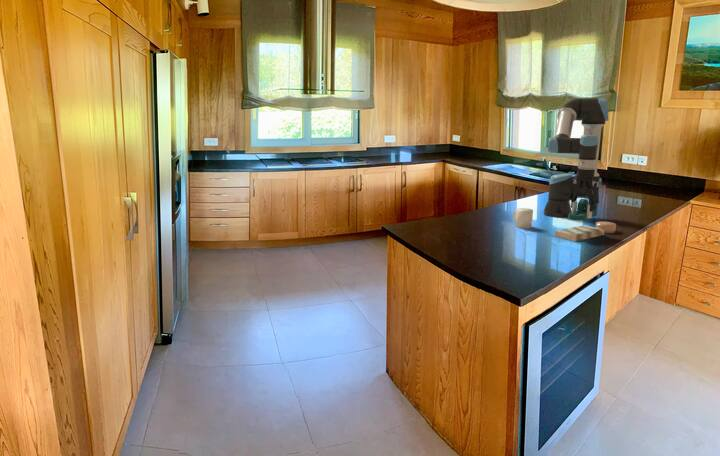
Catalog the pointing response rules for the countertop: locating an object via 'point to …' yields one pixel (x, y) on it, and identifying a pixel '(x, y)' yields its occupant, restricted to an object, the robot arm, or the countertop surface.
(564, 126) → the robot arm
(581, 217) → the bracket
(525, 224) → the mug
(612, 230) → the peach flattened dome
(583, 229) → the tray
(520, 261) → the countertop surface
